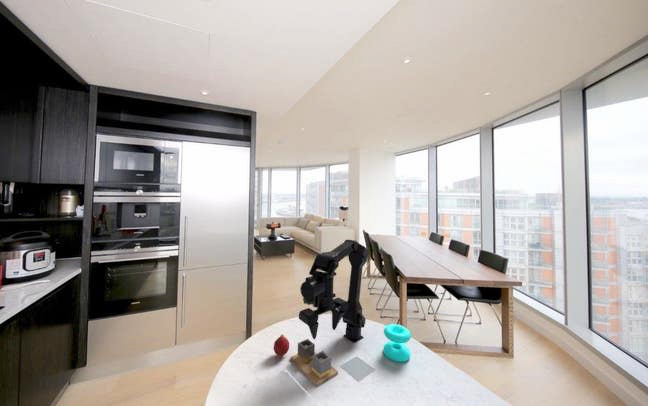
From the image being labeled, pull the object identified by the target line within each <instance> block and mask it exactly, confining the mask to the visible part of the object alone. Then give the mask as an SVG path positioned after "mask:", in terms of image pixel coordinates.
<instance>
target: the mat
mask: <svg viewBox="0 0 648 406" xmlns="http://www.w3.org/2000/svg"><path fill="white" fill-rule="evenodd" d="M339 367H340V368H341V369H342V370H344V372H345V373H347V374H348V375H349V376H351V377H352V378H353V379H355V381H357V382H358V383H359V382H361V381H362V380H363V379H365V378H366V377H368V376H369V375H370V374H372V373H373V372H375V371H376V368H374V367H373V366H371V365H370V364H368V363H367V362H366V361H364V360H363V359H361V358H360V357H359V356H357V355H356V356H354V357H353V358H351V359H349V360H348V361H346V362H344V363H342V364H340V365H339Z"/></svg>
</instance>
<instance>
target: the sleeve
mask: <svg viewBox="0 0 648 406" xmlns="http://www.w3.org/2000/svg"><path fill="white" fill-rule="evenodd" d="M316 353H317V352H316ZM320 358H323V359H324V360H322V361H321V360H319V359H320ZM331 366H332V357H331V356H330V355H329V354H327V353H326V352H325V351H324V350H322V351H319V352H318V353H317V354H315V355H313V363H312V371H313V372H314V373H315V374H316V375H317V376H319V377H320V378H322V377H324V376H325V375H327V374H329V373H330V372H331Z"/></svg>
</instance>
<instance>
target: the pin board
mask: <svg viewBox="0 0 648 406" xmlns="http://www.w3.org/2000/svg"><path fill="white" fill-rule="evenodd" d="M315 354H317V352H316V351H315V343H314V342H312V341H311V340H310V339H309V338H306V339H303V340H301V341H300V342H297V353H296V354H295V355H294V354H293V355H292V356H290V357H289V358H290V359H289V360H291V362H292V363H293V364H294V365H295V366H296V367H297V368H298V369H299V370H300V371H301V373H303V375H305V376H306V377H307V378H308V379H309V381H311V382H312V384H313V385H315V386H316V388H318V387H319V386H321V385H323V384H325V383H326V382H328V381H329V380H331V379H333V378H334V377H336V376H338V375H339V371H338V370H337V369H336V368H334V367H333V366H332V365H331V372H330V373H329V374H327V375H325V376H324V377H322V378H320V377H319V376H317V375H316V374H315V373H314V372H313V371H312V363H313V355H315ZM319 360H321V361H322V360H324V359H323V358H320V359H319Z"/></svg>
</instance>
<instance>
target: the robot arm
mask: <svg viewBox="0 0 648 406" xmlns="http://www.w3.org/2000/svg"><path fill="white" fill-rule="evenodd" d="M369 255H370V254H369V250H368V248H367V247H366V246H364V245H362V244H361V243H359V242H358V241H357V240H353V239H344V242H342V243H340V244H339V245H338V246H336V247H335V248H334V249H332V250H331V251H324V252H321V253H318V254H317V255H316V257H315V258H314V260H313V263H312V265H311V267H310V271H309V273H308V275H309V276H307V277H305V281H303V282H302V284H301V285H300V294H301V296H302V298H303V299H302V300H303V304H305V305H308V306H310V305H312V307H313V308H316V309H315V310H313V309H311V308H309V307H308V308H304V309H301V310H300V311H299V312H298V320H300V321H301V322H302V323H304V324H305V325H307V327H308V329H309V331H310V335H311V337H312V339H313V340H316V338H317V333H318V329H319V324H320V323H319V322H318V321H319V316H322V315H324V314H327V313H329V312H331V329H332V330H333V331H335V330H336V329H337V328H338V325H339V323H340V321H341V320H342V323H343V324H344V323H345V324H346V325H345V333H344V335H343V338H345V339H347V340H348V341H350V342H352V344H356V343H357V342H359V341H361V340H363V339H364V338H365V337H364V335H363V336H362V328H363V329H364V328H365V326H366V319H367V318H366V317H365V316H364V315H363V307H362V304H361V302H360V295H361V287H362V275H363V268H364V266H365V264H367V262H368V258H369ZM347 256H348V261H349V263H350V276H349V286H348V293H347V294H348V295H347V301H346V300H345V299H342V298H341V297H337V296H336V295H337V294H336V293H334V280H335V279H334V277H335V276H336V275H337V272H336V270H337V269H338V268H339V266H340V265H339V264H340V262H341V261H342V260H343V259H345V258H346V257H347ZM335 297H336V298H335Z"/></svg>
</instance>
